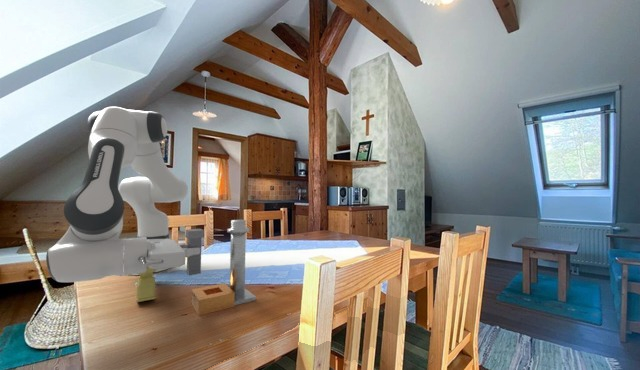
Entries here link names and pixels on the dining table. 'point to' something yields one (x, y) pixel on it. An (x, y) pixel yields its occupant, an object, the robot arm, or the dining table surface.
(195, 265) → the grey square peg
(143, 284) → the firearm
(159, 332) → the dining table surface
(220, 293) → the metal post on base
